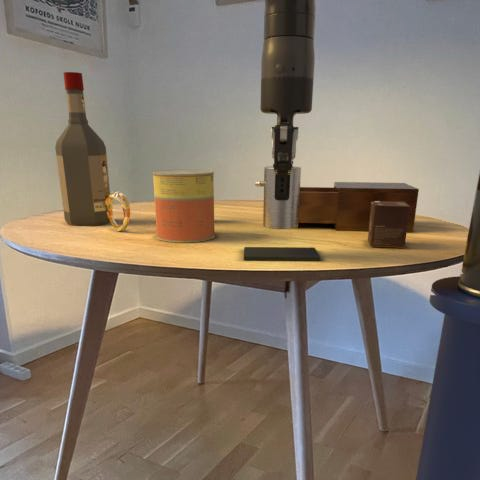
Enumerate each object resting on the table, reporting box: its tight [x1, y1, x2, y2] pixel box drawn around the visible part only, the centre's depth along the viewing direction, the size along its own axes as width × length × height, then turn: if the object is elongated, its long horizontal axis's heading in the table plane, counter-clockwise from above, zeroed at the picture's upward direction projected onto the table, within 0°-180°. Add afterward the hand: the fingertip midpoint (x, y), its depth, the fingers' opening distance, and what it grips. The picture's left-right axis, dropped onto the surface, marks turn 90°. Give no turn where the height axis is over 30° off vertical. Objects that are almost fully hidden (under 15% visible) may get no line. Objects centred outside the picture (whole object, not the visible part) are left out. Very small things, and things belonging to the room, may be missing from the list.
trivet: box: [243, 246, 321, 262], centre depth 76 cm, size 12×7×1 cm, turn 89°
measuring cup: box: [254, 165, 302, 230], centre depth 73 cm, size 7×6×9 cm
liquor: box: [54, 71, 111, 227], centre depth 100 cm, size 9×9×30 cm
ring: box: [105, 190, 131, 232], centre depth 94 cm, size 7×3×8 cm, turn 41°
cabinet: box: [332, 181, 420, 233], centre depth 101 cm, size 16×14×9 cm
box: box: [367, 201, 410, 249], centre depth 83 cm, size 6×6×7 cm
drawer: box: [298, 186, 339, 224], centre depth 103 cm, size 18×12×7 cm
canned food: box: [152, 169, 216, 244], centre depth 89 cm, size 11×11×12 cm
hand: (282, 197), depth 73 cm, fingers closed on measuring cup, 5 cm apart
